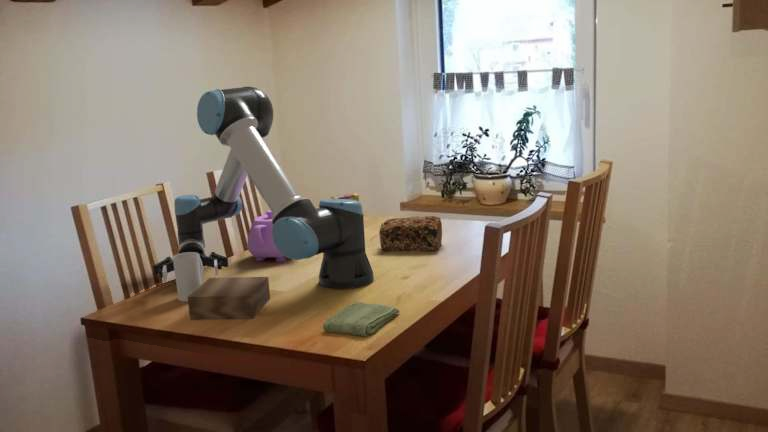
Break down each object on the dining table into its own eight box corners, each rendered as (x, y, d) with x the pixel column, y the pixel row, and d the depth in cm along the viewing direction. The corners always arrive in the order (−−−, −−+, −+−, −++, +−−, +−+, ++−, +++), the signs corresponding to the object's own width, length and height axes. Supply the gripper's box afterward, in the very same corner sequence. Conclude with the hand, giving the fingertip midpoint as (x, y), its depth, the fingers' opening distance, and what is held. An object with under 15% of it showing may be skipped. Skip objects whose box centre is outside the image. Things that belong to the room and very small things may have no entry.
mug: (193, 303, 212) (188, 259, 209) (172, 301, 214) (167, 258, 212) (215, 291, 221) (210, 249, 218) (195, 290, 223) (190, 248, 221)
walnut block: (270, 298, 212) (268, 276, 210) (252, 319, 196) (250, 295, 195) (211, 299, 214) (209, 277, 213) (190, 320, 198) (187, 297, 197)
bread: (443, 243, 258) (442, 213, 256) (438, 252, 248) (436, 221, 246) (386, 244, 262) (384, 214, 260) (379, 252, 252) (377, 221, 250)
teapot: (294, 268, 239) (290, 219, 236) (235, 266, 246) (230, 218, 243) (320, 251, 257) (317, 205, 254) (264, 249, 264) (260, 205, 261)
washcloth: (402, 314, 194) (401, 302, 194) (369, 340, 179) (368, 326, 178) (354, 309, 200) (353, 297, 199) (318, 334, 185) (317, 320, 184)
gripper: (235, 262, 238) (239, 281, 218) (149, 271, 233) (144, 292, 213) (233, 237, 237) (236, 254, 217) (145, 246, 232) (140, 265, 212)
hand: (190, 273), depth 215 cm, fingers open, 13 cm apart
